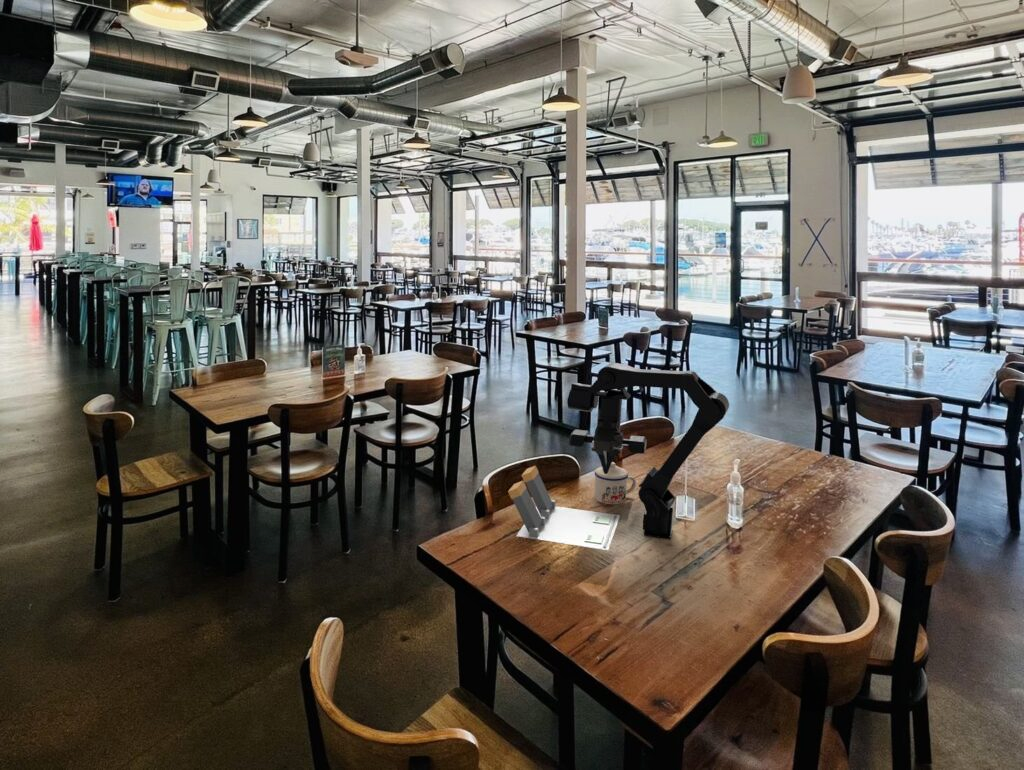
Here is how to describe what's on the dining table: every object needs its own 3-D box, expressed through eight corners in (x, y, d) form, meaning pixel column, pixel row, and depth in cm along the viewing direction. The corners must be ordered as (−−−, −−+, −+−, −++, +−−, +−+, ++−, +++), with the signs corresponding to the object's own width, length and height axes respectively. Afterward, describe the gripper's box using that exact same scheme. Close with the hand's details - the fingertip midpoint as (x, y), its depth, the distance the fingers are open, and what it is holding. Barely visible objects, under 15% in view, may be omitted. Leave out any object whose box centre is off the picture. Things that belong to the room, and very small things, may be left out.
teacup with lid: (600, 511, 172) (602, 469, 169) (588, 497, 181) (590, 458, 178) (641, 507, 175) (644, 466, 172) (627, 494, 184) (630, 455, 181)
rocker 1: (553, 503, 169) (535, 465, 168) (548, 511, 164) (530, 472, 163) (544, 506, 170) (526, 468, 169) (539, 514, 165) (521, 475, 164)
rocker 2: (542, 520, 158) (523, 480, 158) (537, 529, 154) (517, 488, 153) (533, 524, 159) (514, 483, 159) (528, 532, 154) (507, 491, 154)
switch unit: (619, 520, 166) (620, 508, 165) (607, 556, 148) (608, 542, 147) (537, 509, 172) (537, 496, 172) (516, 541, 154) (516, 528, 153)
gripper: (565, 418, 155) (563, 479, 158) (644, 427, 149) (639, 489, 153) (574, 407, 165) (572, 465, 168) (648, 414, 160) (644, 473, 163)
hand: (605, 473), depth 163 cm, fingers closed
